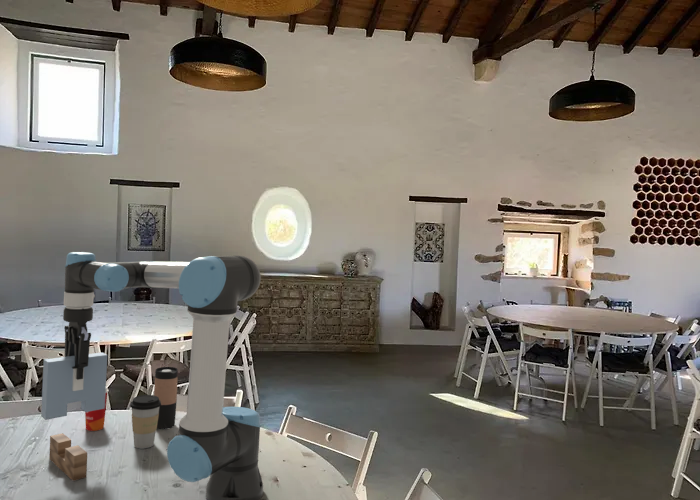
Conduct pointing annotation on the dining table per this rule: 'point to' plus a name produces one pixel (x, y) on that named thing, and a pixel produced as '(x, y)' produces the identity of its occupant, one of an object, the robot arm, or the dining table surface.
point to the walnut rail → (68, 457)
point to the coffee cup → (145, 419)
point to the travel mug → (166, 395)
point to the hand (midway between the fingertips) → (74, 387)
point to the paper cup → (96, 417)
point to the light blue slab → (61, 381)
